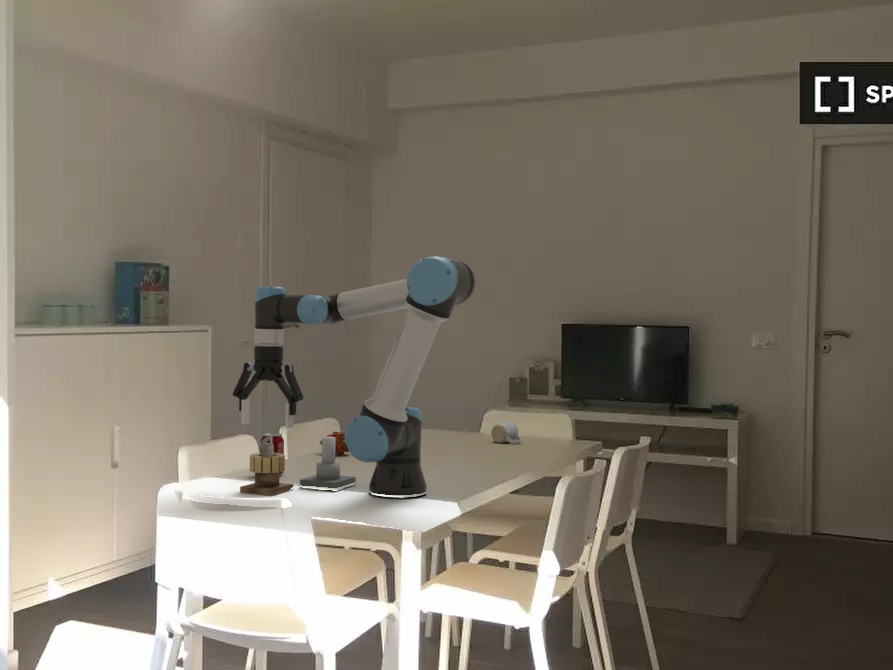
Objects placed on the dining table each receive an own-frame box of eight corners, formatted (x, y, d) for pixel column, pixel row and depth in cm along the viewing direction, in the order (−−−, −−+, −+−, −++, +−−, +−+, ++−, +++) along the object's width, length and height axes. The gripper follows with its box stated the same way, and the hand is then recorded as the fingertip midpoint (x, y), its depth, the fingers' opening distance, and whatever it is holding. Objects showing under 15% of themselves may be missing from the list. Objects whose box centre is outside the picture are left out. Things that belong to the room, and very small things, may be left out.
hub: (355, 485, 268) (356, 436, 268) (335, 491, 258) (336, 441, 257) (320, 482, 272) (321, 434, 272) (299, 488, 262) (300, 438, 262)
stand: (293, 489, 260) (294, 442, 260) (272, 495, 251) (273, 447, 250) (261, 486, 264) (262, 440, 263) (240, 492, 254) (240, 444, 254)
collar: (291, 469, 259) (291, 454, 259) (272, 474, 251) (272, 458, 251) (262, 466, 263) (262, 451, 263) (243, 471, 255) (243, 456, 254)
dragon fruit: (351, 461, 320) (321, 463, 326) (361, 443, 327) (332, 446, 332) (340, 442, 316) (310, 444, 322) (350, 424, 323) (321, 427, 328)
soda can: (285, 473, 285) (285, 432, 284) (281, 477, 278) (282, 435, 278) (261, 473, 284) (262, 432, 284) (258, 477, 278) (258, 435, 277)
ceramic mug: (489, 442, 362) (490, 421, 362) (501, 440, 368) (502, 420, 368) (513, 445, 355) (513, 424, 355) (525, 443, 362) (526, 423, 362)
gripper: (317, 346, 255) (315, 427, 255) (237, 343, 264) (235, 421, 265) (302, 347, 248) (300, 430, 249) (220, 343, 257) (219, 423, 258)
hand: (267, 425), depth 257 cm, fingers open, 13 cm apart
